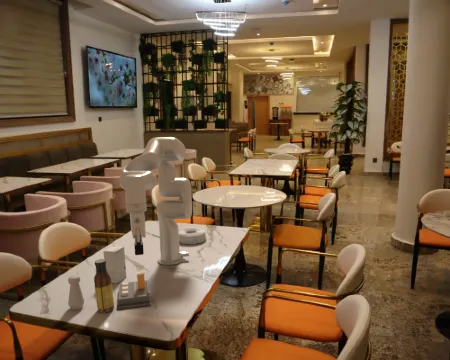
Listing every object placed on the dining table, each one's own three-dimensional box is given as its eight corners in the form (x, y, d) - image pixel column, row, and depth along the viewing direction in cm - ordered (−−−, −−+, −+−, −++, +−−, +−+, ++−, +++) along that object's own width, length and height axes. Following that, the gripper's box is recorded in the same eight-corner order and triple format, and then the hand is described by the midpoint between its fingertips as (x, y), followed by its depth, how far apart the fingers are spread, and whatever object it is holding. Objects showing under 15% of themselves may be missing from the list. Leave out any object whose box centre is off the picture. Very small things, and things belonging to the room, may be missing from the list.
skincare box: (116, 284, 173) (114, 252, 170) (105, 282, 175) (102, 250, 172) (127, 276, 181) (124, 245, 178) (115, 275, 183) (113, 244, 180)
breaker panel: (148, 286, 170) (148, 277, 169) (150, 302, 155) (149, 292, 155) (120, 290, 167) (119, 280, 166) (118, 306, 153) (118, 296, 152)
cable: (172, 238, 235) (172, 228, 234) (199, 234, 242) (199, 224, 241) (181, 247, 219) (181, 236, 218) (210, 242, 226) (210, 232, 225)
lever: (145, 286, 163) (144, 271, 162) (145, 288, 161) (144, 273, 159) (137, 287, 162) (136, 272, 161) (137, 289, 160) (136, 274, 159)
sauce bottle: (115, 305, 154) (112, 257, 151) (112, 313, 148) (108, 263, 144) (99, 305, 154) (95, 257, 150) (94, 313, 148) (90, 263, 144)
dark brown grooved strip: (150, 303, 155) (150, 300, 155) (150, 305, 153) (150, 303, 153) (117, 307, 152) (117, 304, 152) (117, 310, 150) (117, 307, 150)
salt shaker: (71, 304, 155) (68, 273, 153) (86, 303, 156) (83, 272, 153) (66, 312, 149) (63, 280, 147) (82, 311, 150) (79, 279, 148)
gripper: (147, 211, 141) (150, 259, 144) (145, 201, 156) (148, 245, 159) (125, 212, 139) (129, 262, 142) (126, 203, 154) (129, 247, 157)
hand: (139, 253), depth 151 cm, fingers closed
